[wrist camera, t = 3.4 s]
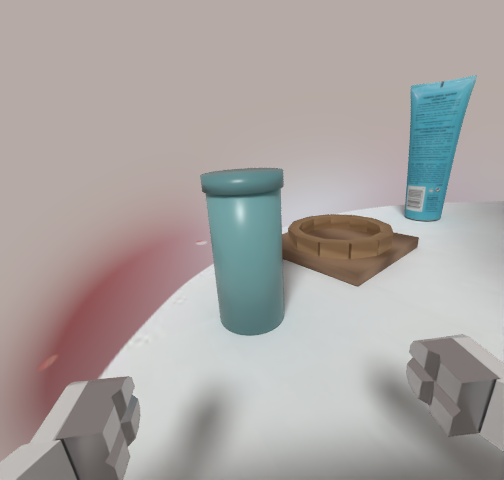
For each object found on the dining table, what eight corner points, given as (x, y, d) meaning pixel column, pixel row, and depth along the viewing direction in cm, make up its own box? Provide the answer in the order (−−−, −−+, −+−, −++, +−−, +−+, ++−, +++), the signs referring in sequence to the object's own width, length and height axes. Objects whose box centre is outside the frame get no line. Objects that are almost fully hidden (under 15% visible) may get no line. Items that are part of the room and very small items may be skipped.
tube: (450, 216, 43) (476, 77, 37) (448, 224, 39) (477, 71, 33) (398, 211, 47) (413, 87, 41) (392, 218, 44) (407, 83, 37)
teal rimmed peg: (255, 289, 25) (247, 167, 22) (301, 314, 21) (300, 169, 18) (205, 314, 22) (185, 175, 18) (246, 348, 18) (232, 179, 14)
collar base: (325, 226, 42) (325, 208, 41) (417, 247, 32) (420, 224, 31) (261, 250, 34) (260, 229, 33) (357, 286, 25) (359, 257, 24)
